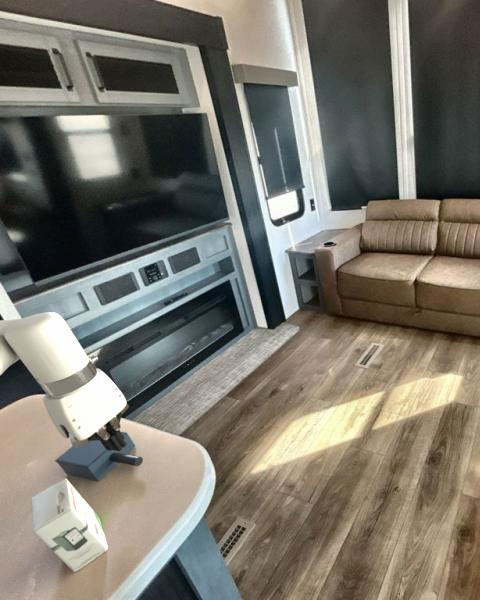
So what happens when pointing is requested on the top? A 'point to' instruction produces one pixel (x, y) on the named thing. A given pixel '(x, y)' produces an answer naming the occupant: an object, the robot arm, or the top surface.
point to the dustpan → (96, 459)
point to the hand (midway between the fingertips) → (118, 447)
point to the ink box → (68, 525)
